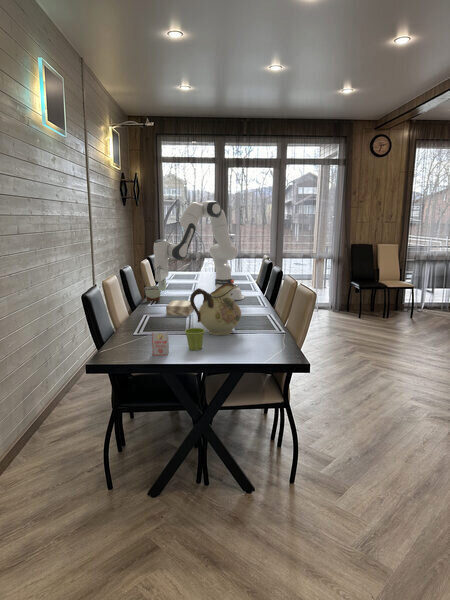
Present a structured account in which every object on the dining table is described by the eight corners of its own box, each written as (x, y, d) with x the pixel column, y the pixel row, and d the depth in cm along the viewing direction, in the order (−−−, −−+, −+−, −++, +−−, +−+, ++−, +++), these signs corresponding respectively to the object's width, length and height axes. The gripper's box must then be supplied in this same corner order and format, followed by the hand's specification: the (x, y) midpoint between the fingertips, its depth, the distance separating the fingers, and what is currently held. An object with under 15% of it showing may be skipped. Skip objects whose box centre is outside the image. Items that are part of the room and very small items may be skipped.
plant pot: (181, 350, 193) (180, 332, 191) (191, 344, 202) (190, 326, 200) (199, 352, 189) (199, 334, 188) (208, 346, 198) (208, 329, 196)
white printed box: (154, 352, 190) (153, 331, 188) (168, 352, 190) (168, 331, 188) (152, 355, 187) (151, 334, 184) (167, 355, 187) (167, 333, 184)
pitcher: (248, 329, 226) (248, 283, 221) (228, 341, 206) (227, 291, 200) (212, 324, 236) (211, 280, 231) (189, 335, 216) (187, 288, 211)
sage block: (166, 289, 276) (165, 278, 274) (164, 290, 272) (164, 279, 270) (160, 289, 276) (159, 278, 274) (158, 290, 272) (158, 279, 271)
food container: (163, 299, 301) (163, 286, 299) (161, 301, 295) (161, 287, 293) (147, 299, 302) (146, 285, 300) (144, 301, 297) (143, 287, 294)
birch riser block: (193, 309, 272) (193, 300, 271) (188, 316, 256) (188, 306, 255) (172, 309, 274) (172, 300, 272) (166, 315, 258) (166, 306, 257)
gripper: (161, 267, 260) (163, 289, 263) (169, 262, 280) (170, 283, 283) (152, 267, 260) (153, 289, 264) (160, 262, 280) (161, 283, 283)
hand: (162, 285), depth 273 cm, fingers closed on sage block, 4 cm apart
